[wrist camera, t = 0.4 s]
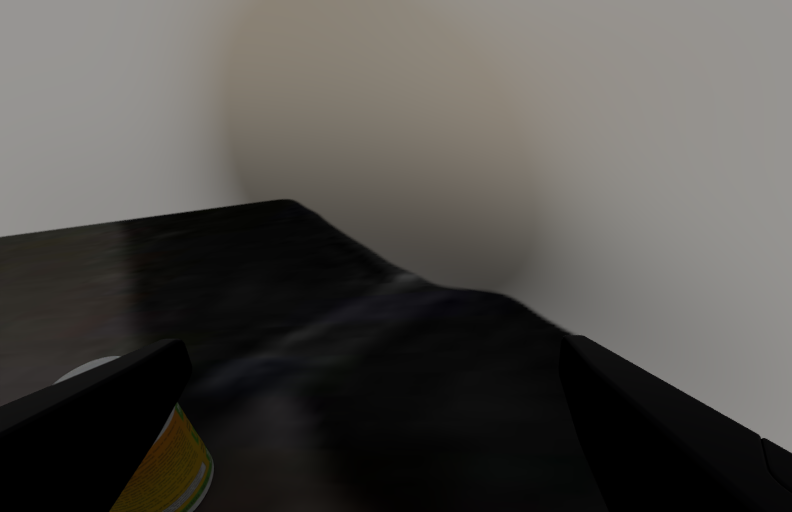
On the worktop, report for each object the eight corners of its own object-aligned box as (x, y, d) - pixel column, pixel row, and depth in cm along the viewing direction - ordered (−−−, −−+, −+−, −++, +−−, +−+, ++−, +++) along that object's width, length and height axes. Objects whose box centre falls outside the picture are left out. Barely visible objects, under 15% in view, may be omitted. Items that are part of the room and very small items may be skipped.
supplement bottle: (234, 461, 24) (173, 357, 19) (163, 558, 20) (60, 456, 14) (174, 437, 26) (104, 336, 21) (98, 520, 21) (-14, 419, 16)
